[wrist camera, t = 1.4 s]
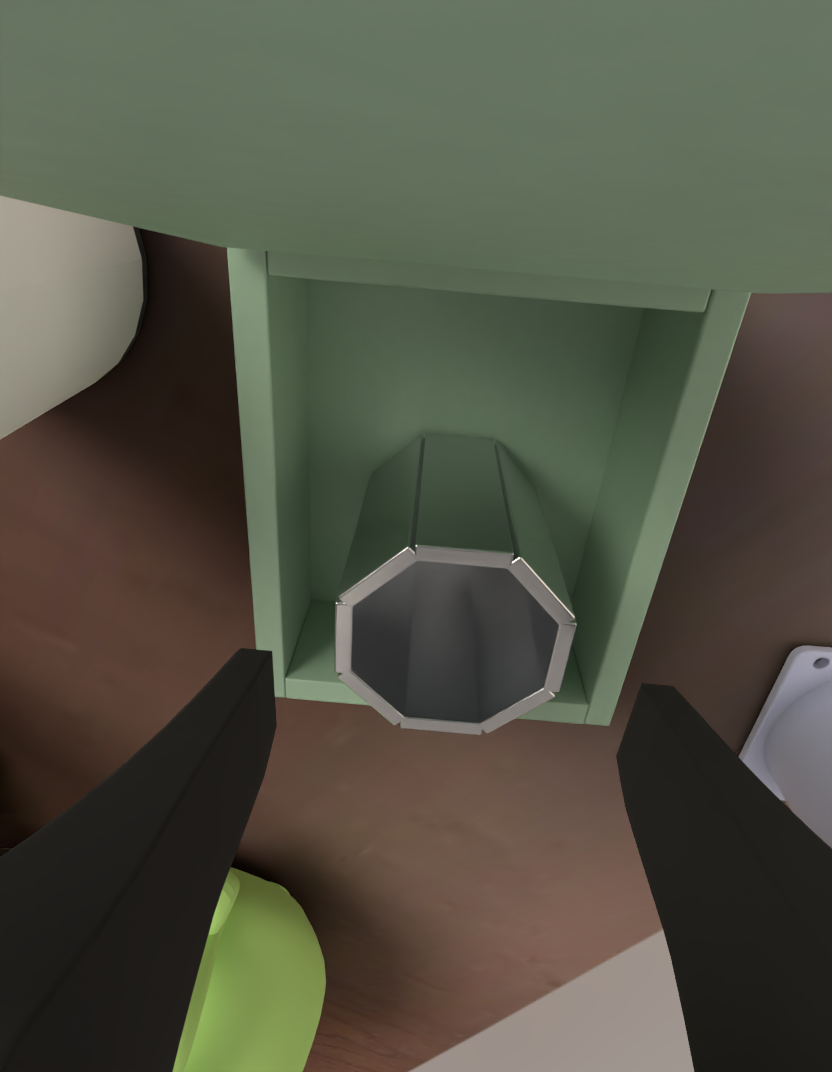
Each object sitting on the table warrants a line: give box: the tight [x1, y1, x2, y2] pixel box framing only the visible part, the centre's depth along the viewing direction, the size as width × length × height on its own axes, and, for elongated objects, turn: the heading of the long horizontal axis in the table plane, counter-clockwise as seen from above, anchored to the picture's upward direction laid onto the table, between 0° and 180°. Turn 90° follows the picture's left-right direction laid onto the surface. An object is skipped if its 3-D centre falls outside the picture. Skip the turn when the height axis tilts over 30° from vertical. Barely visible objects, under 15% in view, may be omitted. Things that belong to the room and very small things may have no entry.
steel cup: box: [334, 433, 577, 735], centre depth 16 cm, size 5×5×7 cm
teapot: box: [173, 867, 326, 1072], centre depth 27 cm, size 22×15×13 cm
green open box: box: [227, 247, 751, 726], centre depth 17 cm, size 13×11×5 cm
